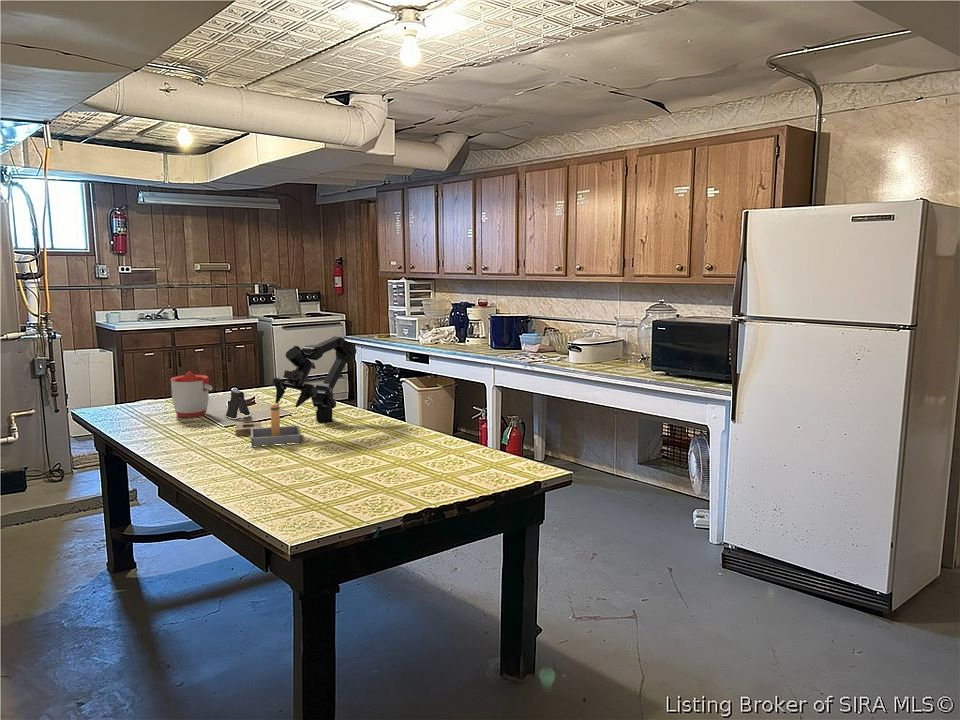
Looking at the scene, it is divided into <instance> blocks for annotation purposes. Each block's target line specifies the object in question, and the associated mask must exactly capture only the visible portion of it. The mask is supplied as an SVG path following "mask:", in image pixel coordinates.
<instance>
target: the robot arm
mask: <svg viewBox="0 0 960 720" xmlns="http://www.w3.org/2000/svg"><path fill="white" fill-rule="evenodd" d="M331 350H334V351H335V359H334V361H333V363H332V365H331V368H330V369H329V371H328V373H327V375H326V377H325V379H324V381H323V383H322V384H320V385H319V384H317V385H315V386H314V384H311V383H306V381H307V382H308V381H309V377H308V376H309V374H310V372H311V370H312V369H313V370H315V369H316V365H315V362H313V361H318V360H320V359H321V358H322V357H323V355H324V354H325V353H327V352H330V351H331ZM356 354H357V348H356V346H355V345H354V344H353V343H351V342H349V341H348V340H346V339H345V338H343V336H332V337H331V338H329V339H327V340H324V341H321V342H319V343H317V344H309V345H305V346H303V347H302V348H300V346H299V345H293V347H292V348H289V349H288V350H287V351H286V352H285V358H286V359H287V360H288V361H289V362H290V363H291V364H292V366H293V367H296V368H295V370H294V369H293V370H291V371H290V370H284V372H283V377H281V378H280V377H274V378H272V381H271V384H272V385H273V386H274V387H275V390H276V391H275V392H276V393H275V394H276V395H275V403H277V404H279V402H280V400H281V399H282V397H283V396H284V395H285V393H286V391H285V390H286V389H287V388H289V389H293V390H298V391H300V395H299V396H298V397H299V398H298V399H297V401H296V403H295V408H296V409H298V407H300V406H301V405H302V404H303V403H305V402H307V400H309V399H311V401H312V405H313V407H314V408H316V409H315V420H316V421H317V423H331V422H332V423H333V422H334V419H333V409H335V408H336V406H337V401H336V400H335V398H334V388H335V386H336V383H337V381H338V380H339V378H340V376H341V375H342V372H343V371H344V369H345V366H346V365H347V363H350V362H351V361H352V360H353V358H354V357H355V356H356ZM285 379H286V381H285Z"/></svg>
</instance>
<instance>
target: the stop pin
mask: <svg viewBox="0 0 960 720" xmlns="http://www.w3.org/2000/svg"><path fill="white" fill-rule="evenodd" d="M280 420H281V419H280V403H276V402H275V403H271V404H270V423H271V424H270V425H271V430H272V437H273V436H280V427H281V426H280V425H281V423H280V422H281V421H280Z"/></svg>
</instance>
